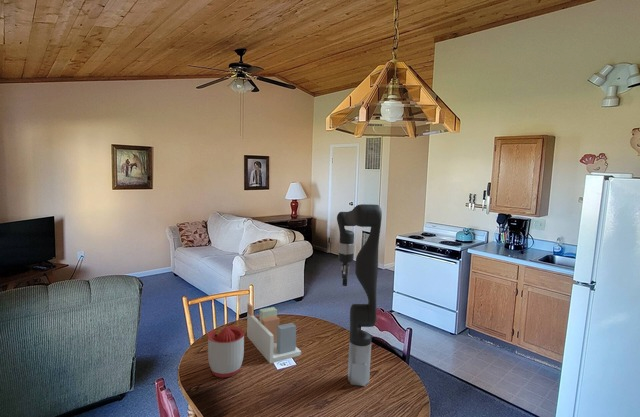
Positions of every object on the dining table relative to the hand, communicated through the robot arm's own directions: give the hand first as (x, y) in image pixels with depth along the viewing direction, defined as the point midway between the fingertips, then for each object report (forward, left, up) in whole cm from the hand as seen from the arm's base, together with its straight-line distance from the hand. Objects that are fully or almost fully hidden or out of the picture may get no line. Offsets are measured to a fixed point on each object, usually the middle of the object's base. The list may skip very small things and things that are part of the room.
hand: (344, 285), depth 187 cm
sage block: (+1, +40, -29) cm, 49 cm away
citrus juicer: (-35, +48, -31) cm, 67 cm away
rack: (-9, +34, -31) cm, 47 cm away
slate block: (-16, +25, -29) cm, 42 cm away
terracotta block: (-10, +35, -29) cm, 46 cm away
